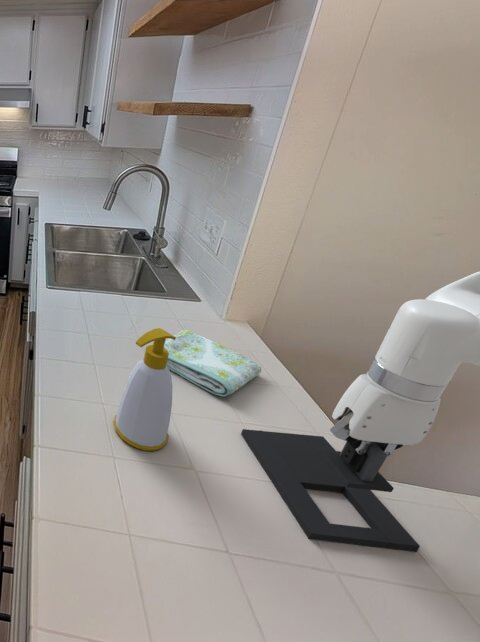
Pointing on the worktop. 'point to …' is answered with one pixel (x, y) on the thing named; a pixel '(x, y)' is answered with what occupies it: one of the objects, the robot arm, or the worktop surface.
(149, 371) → the soap bottle
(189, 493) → the worktop surface
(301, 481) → the big pad
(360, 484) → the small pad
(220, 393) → the towel
